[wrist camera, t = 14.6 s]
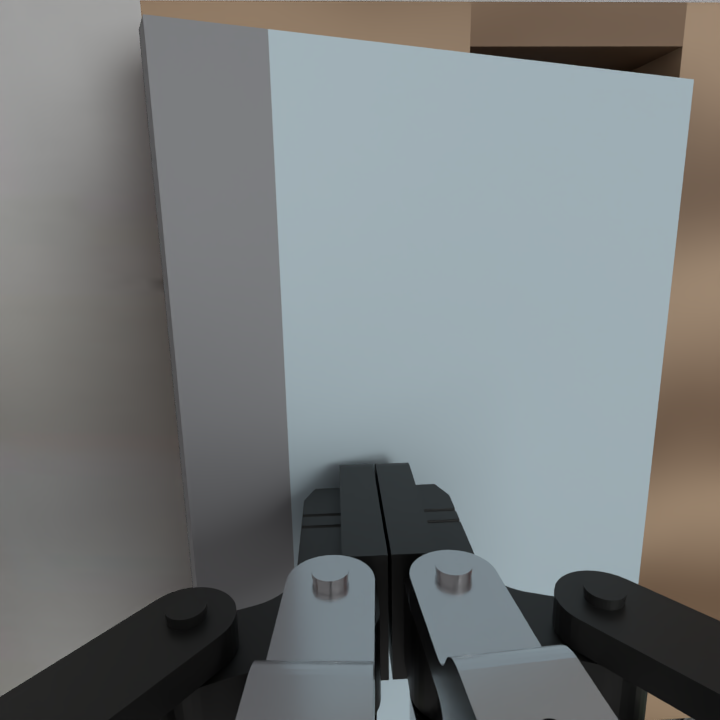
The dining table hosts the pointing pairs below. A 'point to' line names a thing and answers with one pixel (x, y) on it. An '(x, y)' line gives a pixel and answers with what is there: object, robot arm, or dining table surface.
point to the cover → (411, 291)
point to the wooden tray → (694, 234)
